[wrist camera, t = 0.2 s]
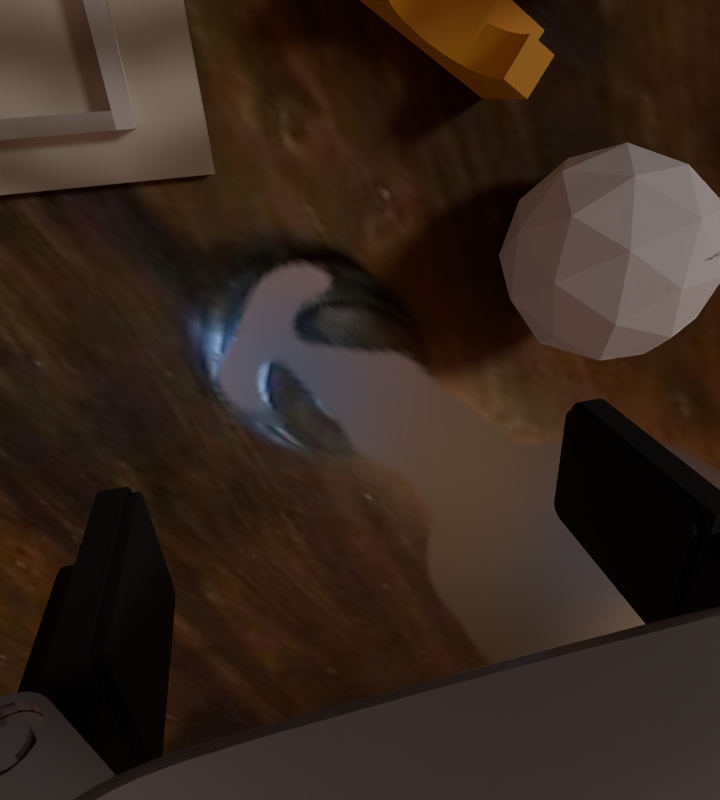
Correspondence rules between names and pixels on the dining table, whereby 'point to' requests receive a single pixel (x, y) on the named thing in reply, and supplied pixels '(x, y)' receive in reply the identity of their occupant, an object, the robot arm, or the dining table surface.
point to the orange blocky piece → (474, 41)
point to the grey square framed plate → (98, 94)
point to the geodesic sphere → (613, 252)
